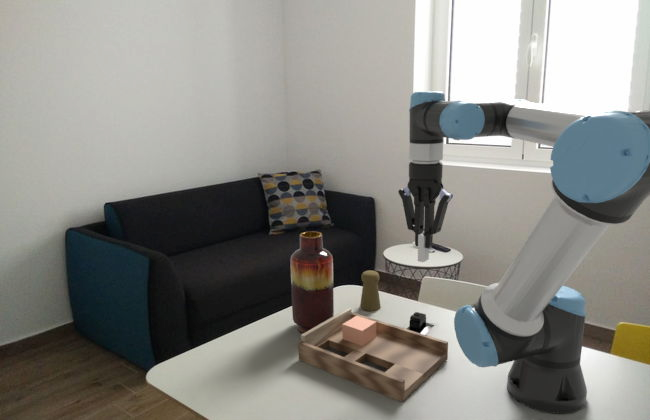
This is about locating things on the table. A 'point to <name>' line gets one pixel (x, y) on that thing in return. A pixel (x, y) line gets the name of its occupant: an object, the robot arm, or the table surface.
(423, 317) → the black piece
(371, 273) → the cork
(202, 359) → the table surface
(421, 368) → the box
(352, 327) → the block
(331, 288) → the vase
